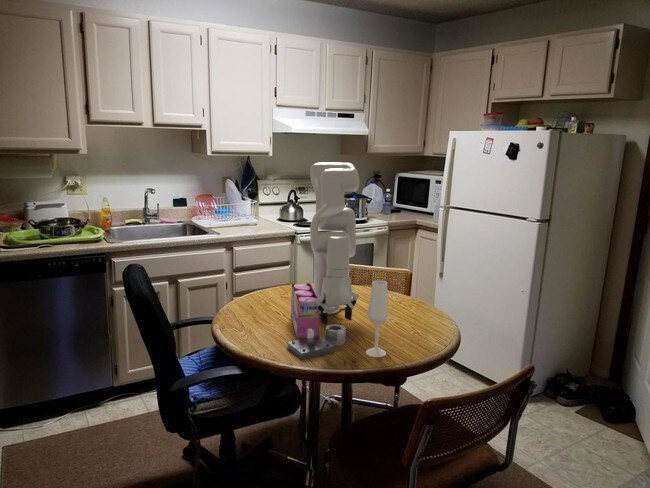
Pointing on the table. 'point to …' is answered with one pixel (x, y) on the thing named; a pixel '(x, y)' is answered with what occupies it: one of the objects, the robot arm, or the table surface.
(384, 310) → the champagne flute
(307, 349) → the shaft block
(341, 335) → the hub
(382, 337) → the table surface
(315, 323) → the gum box
